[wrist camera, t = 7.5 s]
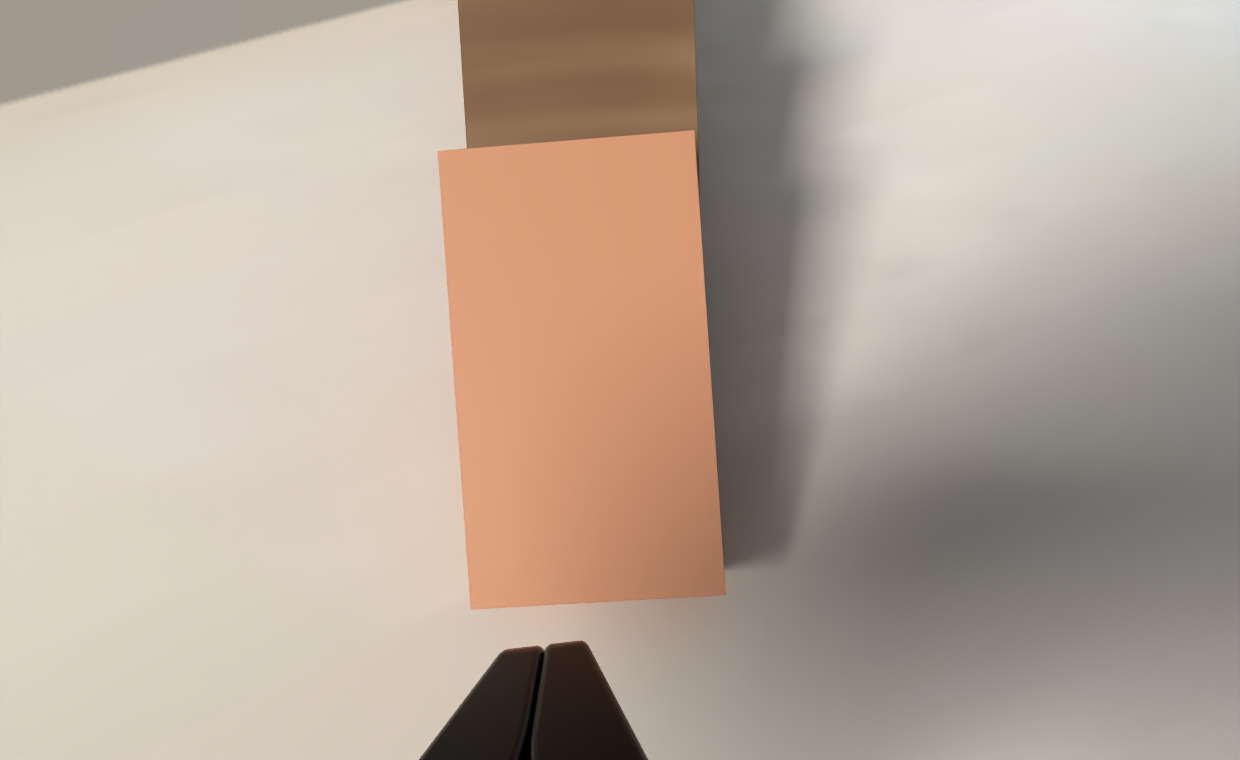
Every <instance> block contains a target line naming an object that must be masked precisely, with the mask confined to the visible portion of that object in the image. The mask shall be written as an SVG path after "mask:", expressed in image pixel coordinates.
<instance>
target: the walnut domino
mask: <svg viewBox="0 0 1240 760" xmlns="http://www.w3.org/2000/svg"><path fill="white" fill-rule="evenodd" d="M458 11H459V27H460V43H461V60H462V76H463V92H464V108H465V125H466V141H467V149H470V148H482V147H494V146H507V145H519V144H531V143H544V142H556V141H568V140H580V139H593V138H605V137H617V136H630V135H642V134H654V133H666V132H679V131H691V130H694V133H695V147H696V162H697V177H698V192H699V207H700V190H699V157H698V124H697V90H696V57H695V24H694V0H458Z"/></svg>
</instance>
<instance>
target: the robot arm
mask: <svg viewBox="0 0 1240 760" xmlns="http://www.w3.org/2000/svg"><path fill="white" fill-rule="evenodd" d="M419 760H648V759H647V757H646V755H645V753H644V751H643V749H642V747H641V745H640V743H639V741H638V739H637V738H636V736H635V734H634V732H633V730H632V728H631V726H630V724H629V722H628V720H627V719H626V717H625V715H624V713H623V711H622V709H621V707H620V705H619V703H618V701H617V699H616V698H615V696H614V694H613V692H612V690H611V688H610V686H609V684H608V682H607V680H606V678H605V677H604V675H603V673H602V671H601V669H600V667H599V665H598V663H597V661H596V659H595V657H594V656H593V654H592V652H591V650H590V648H589V646H588V645H587V644H586V643H585V642H583V641H573V642H565V643H556V644H550V645H549V646H547V647H546V649H545V651H544V650H543V649H542V648H541V647H540V646H531V647H523V648H514V649H507V650H504V651H503V652H501V653H500V654H499V655H498V656H497V658H496V659H495V660H494V662H493V663H492V664H491V665H490V667H489V668H488V669H487V671H486V672H485V673H484V675H483V676H482V677H481V679H480V680H479V681H478V683H477V684H476V685H475V687H474V688H473V689H472V691H471V692H470V693H469V694H468V696H467V697H466V698H465V700H464V701H463V702H462V704H461V705H460V706H459V708H458V709H457V710H456V712H455V713H454V714H453V716H452V717H451V718H450V719H449V721H448V722H447V723H446V725H445V726H444V727H443V729H442V730H441V731H440V733H439V734H438V735H437V737H436V738H435V739H434V741H433V742H432V743H431V744H430V746H429V747H428V748H427V750H426V751H425V752H424V754H423V755H422V756H421V758H420V759H419Z"/></svg>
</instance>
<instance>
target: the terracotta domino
mask: <svg viewBox="0 0 1240 760" xmlns="http://www.w3.org/2000/svg"><path fill="white" fill-rule="evenodd" d="M438 161H439V175H440V188H441V202H442V216H443V230H444V244H445V258H446V271H447V285H448V299H449V313H450V327H451V341H452V354H453V368H454V382H455V396H456V410H457V424H458V437H459V451H460V465H461V479H462V493H463V507H464V520H465V534H466V548H467V562H468V576H469V590H470V603H471V609H486V608H504V607H521V606H539V605H556V604H574V603H591V602H608V601H626V600H643V599H661V598H678V597H696V596H713V595H726V592H725V577H724V562H723V547H722V532H721V518H720V503H719V488H718V473H717V458H716V444H715V429H714V414H713V399H712V384H711V370H710V355H709V340H708V325H707V310H706V296H705V281H704V266H703V251H702V236H701V221H700V207H699V192H698V177H697V162H696V147H695V133H694V130H691V131H679V132H666V133H654V134H642V135H630V136H617V137H605V138H593V139H580V140H568V141H556V142H544V143H531V144H519V145H507V146H494V147H482V148H470V149H457V150H445V151H438Z"/></svg>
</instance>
